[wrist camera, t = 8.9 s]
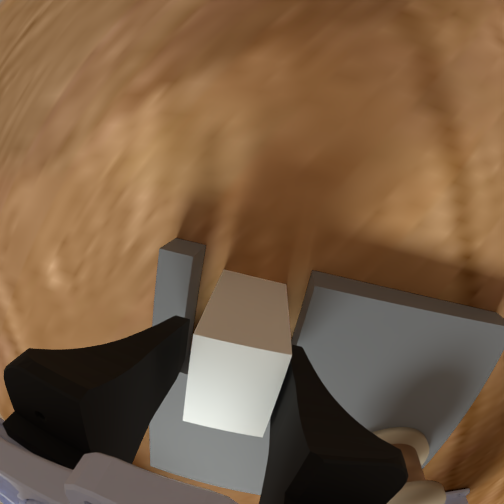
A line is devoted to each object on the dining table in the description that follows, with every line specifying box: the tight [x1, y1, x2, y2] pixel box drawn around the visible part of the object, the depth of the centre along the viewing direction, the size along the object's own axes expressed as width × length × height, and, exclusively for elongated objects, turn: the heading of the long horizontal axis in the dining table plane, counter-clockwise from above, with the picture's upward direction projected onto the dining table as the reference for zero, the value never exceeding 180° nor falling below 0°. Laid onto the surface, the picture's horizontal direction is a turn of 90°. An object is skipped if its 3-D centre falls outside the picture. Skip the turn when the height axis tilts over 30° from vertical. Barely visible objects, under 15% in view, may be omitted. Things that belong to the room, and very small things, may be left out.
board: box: [149, 238, 504, 495], centre depth 15 cm, size 18×16×2 cm
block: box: [183, 269, 292, 437], centre depth 12 cm, size 3×4×6 cm
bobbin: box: [372, 427, 446, 504], centre depth 12 cm, size 6×6×5 cm
